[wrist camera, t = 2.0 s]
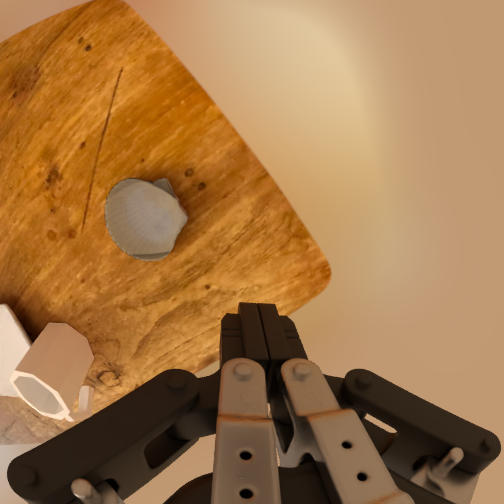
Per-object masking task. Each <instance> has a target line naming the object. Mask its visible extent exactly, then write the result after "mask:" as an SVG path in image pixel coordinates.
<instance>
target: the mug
mask: <svg viewBox="0 0 504 504" xmlns="http://www.w3.org/2000/svg"><path fill="white" fill-rule="evenodd" d="M93 360H94V356H93V354H92V351H91V348H90V346H89V343H88V340H87V338H86V337H84V336H83V335H82V334H80V333H79V332H78V331H76V330H75V329H73V328H72V327H71V326H69V325H68V324H67V323H50V322H49V323H48V324H47V326H46V327H45V328H44V330H43V331H42V332H41V334H40V335H39V336H38V338H37V339H36V340H35V342H34V343H33V344H32V346H31V347H30V348H29V350H28V351H27V353H26V354H25V355H24V357H23V358H22V360H21V361H20V363H19V364H18V366H17V367H16V369H15V370H14V372H13V374H12V376H11V378H10V381H11V383H12V385H13V387H14V388H15V390H16V391H17V393H18V395H19V396H20V398H21V399H23V400H24V401H25V402H26V403H27V404H29V405H30V406H31V407H33V408H34V409H35V410H36V411H38V412H39V413H40V414H42V415H45V416H48V417H51V418H55V419H59V420H62V419H63V418H64V417H65V418H66V419H67V420H68V421H78V420H82V419H86V418H89V417H91V415H92V404H93V395H94V388H92V387H90V386H85V385H84V386H82V384H83V382H84V380H85V377H86V375H87V373H88V371H89V369H90V367H91V364H92V362H93ZM81 386H82V387H81ZM78 393H79V412H75V413H74V412H73V411H72V407H73V405H74V402H75V400H76V398H77V395H78Z"/></svg>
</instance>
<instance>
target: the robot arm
mask: <svg viewBox="0 0 504 504" xmlns="http://www.w3.org/2000/svg"><path fill="white" fill-rule="evenodd" d="M219 354H220V369H219V370H218V371H217V372H216V373H214V374H212V375H210V376H206V377H202V378H197V377H196V376H195V375H194V374H192V373H191V372H189V371H186V370H182V369H170V370H166V371H163V372H162V373H160V374H158V375H157V376H155V377H154V378H152V379H151V380H149V381H148V382H146V383H144V384H143V385H141V386H140V387H138V388H137V389H135V390H133V391H132V392H130V393H129V394H127V395H125V396H124V397H122V398H121V399H119V400H117V401H116V402H114V403H112V404H111V405H109V406H107V407H106V408H104V409H102V410H101V411H99V412H97V413H96V414H94V415H92V416H91V417H89V418H87V419H86V420H84V421H82V422H80V423H79V424H77V425H75V426H73V427H72V428H70V429H68V430H66V431H65V432H63V433H61V434H59V435H57V436H56V437H54V438H52V439H50V440H48V441H47V442H45V443H43V444H41V445H39V446H37V447H36V448H34V449H32V450H30V451H28V452H26V453H24V454H22V455H20V456H18V457H16V458H15V459H13V460H12V461H11V463H10V464H9V466H8V470H7V478H8V482H9V484H10V486H11V488H12V489H13V491H14V492H15V493H16V494H18V495H19V496H20V497H21V498H23V499H24V500H25V501H26V502H28V503H29V504H125V503H124V502H123V500H125V499H126V498H128V497H129V496H130V495H132V494H133V493H135V492H136V491H137V490H139V489H140V488H141V487H143V486H144V485H145V484H146V483H148V482H149V481H150V480H152V479H153V478H154V477H155V476H157V475H158V474H159V473H161V472H162V471H163V470H164V469H165V468H167V467H168V466H169V465H170V464H172V463H173V462H174V461H175V460H176V459H178V457H180V456H181V455H182V454H183V453H185V452H186V451H187V450H188V449H189V448H190V447H191V446H193V445H194V444H195V443H196V442H197V441H198V439H199V438H200V437H204V436H208V435H213V434H216V438H215V439H216V440H215V452H214V465H213V466H214V467H213V472H212V473H209V474H205V475H202V476H200V477H197V478H195V479H193V480H191V481H190V482H188V483H186V484H185V485H183V486H182V487H181V488H179V489H178V490H177V491H176V492H175V493H174V494H173V495H172V496H171V497H170V498H168V499H167V500H166V501H165V502H164V503H163V504H470V501H471V499H472V496H473V493H474V490H475V487H476V484H477V481H478V478H479V475H480V473H481V472H482V471H483V470H484V469H485V468H486V467H487V466H488V465H489V464H490V463H491V462H493V461H494V460H495V459H496V458H497V457H498V456H499V454H500V452H501V444H500V441H499V439H498V437H497V436H496V435H495V434H494V433H492V432H490V431H488V430H486V429H484V428H481V427H479V426H477V425H475V424H473V423H471V422H469V421H466V420H464V419H462V418H460V417H458V416H456V415H454V414H452V413H450V412H448V411H446V410H444V409H441V408H440V407H438V406H436V405H434V404H432V403H430V402H428V401H426V400H424V399H422V398H420V397H418V396H416V395H414V394H412V393H410V392H408V391H406V390H404V389H402V388H401V387H399V386H397V385H395V384H393V383H391V382H389V381H387V380H385V379H384V378H382V377H380V376H378V375H376V374H375V373H373V372H371V371H368V370H365V369H353V370H351V371H349V372H348V373H347V374H346V376H345V378H340V377H333V376H328V375H325V374H322V372H321V370H320V368H319V367H318V366H317V365H316V364H315V363H313V362H312V361H309V360H308V358H307V355H306V353H305V350H304V348H303V345H302V343H301V340H300V339H299V335H298V332H297V330H296V327H295V324H294V322H293V321H292V320H291V319H289V318H288V317H287V316H279V315H278V311H277V308H276V305H275V304H265V303H243V302H239V305H238V314H230V313H226V315H225V316H224V317H223V319H222V320H221V333H220V347H219ZM267 403H269V404H270V409H271V410H270V413H269V416H268V406H267ZM367 413H368V414H369V415H371V416H373V417H375V418H376V419H378V420H380V421H382V422H383V423H385V424H387V425H389V426H391V427H392V428H394V429H395V430H396V431H397V432H396V433H390V432H387V431H385V430H384V429H382V428H380V427H378V426H377V425H375V424H373V423H372V422H369V421H368V420H366V419H364V418H365V416H366V414H367ZM276 448H277V451H278V454H279V458H280V467H278V464H277V453H276Z"/></svg>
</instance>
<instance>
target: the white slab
mask: <svg viewBox="0 0 504 504" xmlns="http://www.w3.org/2000/svg"><path fill="white" fill-rule="evenodd" d="M32 344H33V342H32V341H31V339H30V338H29V336H28V335H27V333H26V331H25V330H24V328H23V326H22V325H21V323H20V321H19V320H18V318H17V317H16V315H15V314H14V312H13V311H12V310H11V308H10V307H9V306H8V305H7V304H0V395H1V396H13V397H20V396H19V395H18V393H17V391H16V390H15V388H14V387H13V385H12V383H11V381H10V378H11V376H12V374H13V372H14V370H15V369H16V367H17V366H18V364H19V363H20V361H21V360H22V358H23V357H24V355H25V354H26V353H27V351H28V350H29V348H30V347H31V346H32Z"/></svg>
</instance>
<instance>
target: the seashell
mask: <svg viewBox="0 0 504 504" xmlns="http://www.w3.org/2000/svg"><path fill="white" fill-rule="evenodd" d="M106 200H107V201H106V204H105V221H106V226H107V228H108V231H109V235H110V236H111V237H112V240H113V241H114V242H115V243H116V245H117V246H118V247H120V248H121V250H122V251H124V252H126V253H127V254H128V255H130V256H132V257H134V258H135V259H139V260H143V261H156V260H161V259H163V258H165V257H166V256H167V255H168V254H169V253H170V252H171V250H172V249H173V246H174V244H175V242H176V237H177V235H178V234H179V233H180V231H181V230H182V227H183V226H184V225H185V223H186V222H187V219H188V214H187V212H186V211H185V210H184V208H183V207H182V205H181V204H180V201H179V199H178V197H177V196H176V195H175V193H174V192H173V189H172V186H171V185H170V183H169V181H168V179H166V178H162V179H158V180H156V181H155V182H152V181H144V180H140V179H136V178H129V179H125V180H123V181H120V182H119V183H117V184H116V185H115V186H114V187H113V188H112V189H111V191H110V192H109V195H108V197H107V199H106Z"/></svg>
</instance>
